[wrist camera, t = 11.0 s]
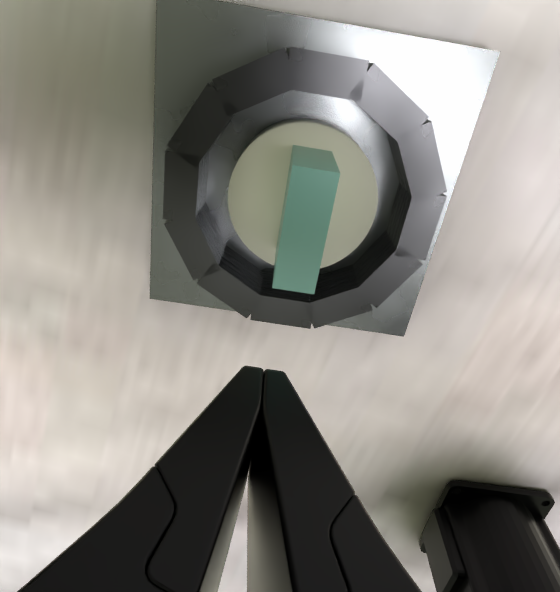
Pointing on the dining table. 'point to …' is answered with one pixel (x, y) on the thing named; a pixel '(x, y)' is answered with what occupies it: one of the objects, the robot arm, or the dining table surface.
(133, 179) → the dining table surface
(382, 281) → the square ring flange
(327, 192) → the cap
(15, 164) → the dining table surface
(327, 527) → the robot arm
